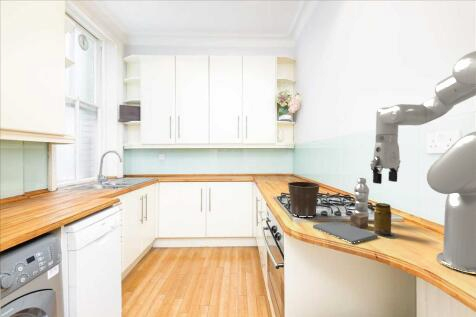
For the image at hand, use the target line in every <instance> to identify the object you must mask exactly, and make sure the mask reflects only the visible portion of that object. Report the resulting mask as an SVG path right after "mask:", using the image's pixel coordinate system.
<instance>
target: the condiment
mask: <svg viewBox="0 0 476 317" xmlns="http://www.w3.org/2000/svg"><path fill="white" fill-rule="evenodd" d="M374 207H375V209H374V211H373V216H374V217H373V230H372V231H371V232H372V233H375V234H377V236H378V237H379V236H380V237H385V238H389V239H395V238H397V237H398V236H400V234H399V233H396V232H392V211H391V210H392V209H391V205H390V204H389V203H384V202H378V203H377V202H376V203H375V206H374Z"/></svg>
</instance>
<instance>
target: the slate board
mask: <svg viewBox="0 0 476 317" xmlns="http://www.w3.org/2000/svg"><path fill="white" fill-rule="evenodd" d="M312 228H313V229H315V230H317V229H318V230H317V231H320V230H321V231H320V232H322V231H323V232H322V233H324V232H326V233H325V234H327V233H329V234H331V235H334V236H336V237H339V238H341V239H344V240H347V241H349V242H351V243H354V242H358V241H362V240H366V241H368V240H367V239H369V240H372V239H371V238H373V239H376V238H375V237H377V238H378V235H377V234H375V233H372V231H368V230H366V229H364V228H362V229H360V228H357V227H354V226H351V225H350V224H348V223H345V222H342V221H339V220H331V221H327V222H322V223H317V224H313V225H312ZM329 234H328V235H329ZM331 235H330V236H331ZM334 236H333V237H334ZM336 237H335V238H336ZM339 238H338V239H339ZM341 239H340V240H341ZM362 242H363V241H362Z"/></svg>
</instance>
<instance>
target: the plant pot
mask: <svg viewBox="0 0 476 317" xmlns="http://www.w3.org/2000/svg"><path fill="white" fill-rule="evenodd" d="M286 185H287V186H288V187H287V188H288V192H289V203H290V214H291V213H292V214H295V215H298V216H306V217H308V216H313V215H314V214H315V213H317V204H318V194H319V193H320V192H319V190H320V187H321V184H320V183H318V182H313V181H292V182H290V181H289V182H287V184H286ZM292 214H291V215H292ZM298 216H297V217H298Z"/></svg>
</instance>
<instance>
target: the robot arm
mask: <svg viewBox="0 0 476 317" xmlns="http://www.w3.org/2000/svg"><path fill="white" fill-rule="evenodd" d="M451 73H452V74H451V75H450V76H448V77H446V78H444V79H442V80H440V81H439V82H438V83H437V84H435V87H434V93H435V95H434V97H431V98H430V99H428V100H426V101H425V102H422V103H421V104H408V103H406V104H403V103H402V104H395V105H393V106H387V107H381V108H378V109H377V110H376V112H375V113H376V116H375V118H376V119H375V145H374V150H373V159H372V160H371V161H370V162H369V165H370V169H371V172H372V183H373V184H377V185H378V184H379V185H381V184H383V183H382V181H383V176H382V175H383V173H382V172H383V169H386V170H387V169H389V171H388V182H395V183H396V182H398V173H399V169H400V164H401V162H402V161H401V159H400V146H399V143H398V141H399V126H422V125H425V124H428V123H430V122H432V121H434V120H436V119H440V118H441V117H443V116H445V115H446V114H448V112H450V111H451V110H452V109H453V108H454V107H455V106H456V105H458V104H460V103H462V102H465V101H467V100H469V99H470V98H474V97H475V96H476V50H475V51H472V52H469V53H466V54H465V55H463V56H462V57H461V58H459V59H458V60H457V61H456V62H455V64H454V66H453V68H452V72H451ZM426 182H427V184H428V186H429V187H430V188H431V189H432V190H433V191H435V192H437V193H438V194H443V195H447V196H446V199H445V206H444V225H443V226H444V227H443V250H442V252H439V253H437V254H436V260H437V259H438V260H439V261H440V262H442V263H444V264H446V265H448V266H451V267H453V268H456V269H459V270H462V271H467V272H475V273H476V131H473V132H469V133H467V134H465V135H464V136H462V137H461V138H459V139H457V141H456V142H454V143H453V144H452V145H451V146H450V147H449V148H447V150H446V151H445V152H443V154H442V155H441V156H440V157H438V158H437V160H435V162H433V164H432V165H430V167H429V169H428V170H427V173H426ZM438 260H437V261H438ZM440 262H439V263H440Z"/></svg>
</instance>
